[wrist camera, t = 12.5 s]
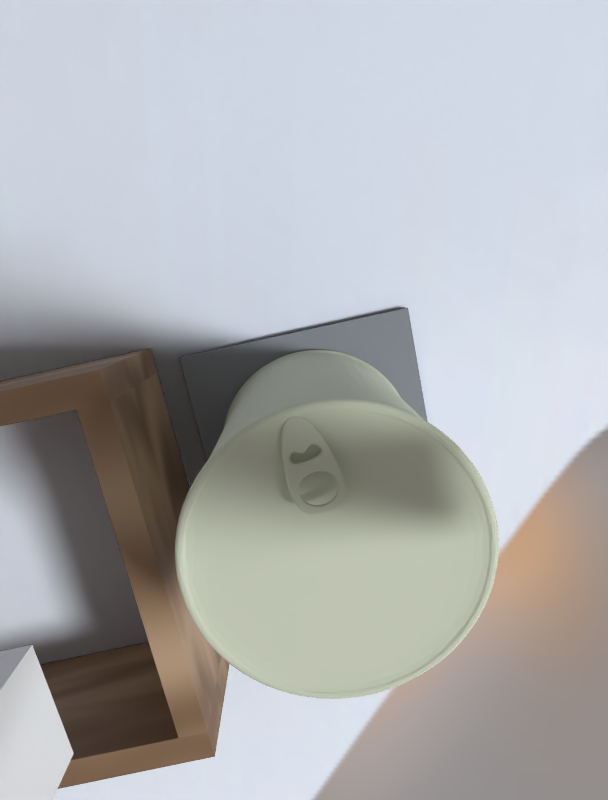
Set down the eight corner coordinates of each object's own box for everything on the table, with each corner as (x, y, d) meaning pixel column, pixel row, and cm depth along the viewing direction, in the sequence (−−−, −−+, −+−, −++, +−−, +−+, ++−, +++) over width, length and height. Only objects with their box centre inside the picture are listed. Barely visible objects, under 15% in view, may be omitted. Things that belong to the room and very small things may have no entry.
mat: (181, 356, 25) (179, 357, 25) (406, 307, 25) (407, 308, 25) (235, 562, 28) (234, 566, 27) (442, 518, 27) (444, 521, 27)
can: (381, 324, 25) (462, 354, 13) (431, 499, 27) (542, 662, 15) (196, 383, 25) (115, 464, 14) (258, 552, 27) (234, 752, 15)
